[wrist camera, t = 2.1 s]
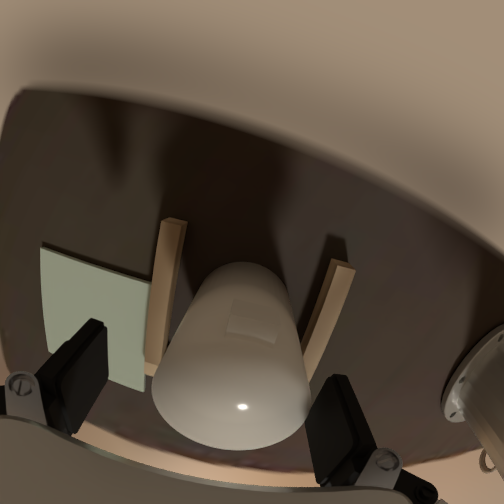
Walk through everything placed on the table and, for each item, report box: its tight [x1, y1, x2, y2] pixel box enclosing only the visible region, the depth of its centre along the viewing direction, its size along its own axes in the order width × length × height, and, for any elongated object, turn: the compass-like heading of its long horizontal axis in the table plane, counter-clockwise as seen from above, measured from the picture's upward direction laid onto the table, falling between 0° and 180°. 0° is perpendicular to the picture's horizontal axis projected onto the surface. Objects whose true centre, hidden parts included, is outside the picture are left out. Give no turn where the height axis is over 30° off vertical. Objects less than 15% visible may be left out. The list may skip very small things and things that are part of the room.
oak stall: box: [144, 217, 356, 382], centre depth 18 cm, size 11×11×2 cm
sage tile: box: [40, 247, 152, 392], centre depth 19 cm, size 10×10×1 cm
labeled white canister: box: [152, 262, 311, 450], centre depth 14 cm, size 6×8×9 cm
